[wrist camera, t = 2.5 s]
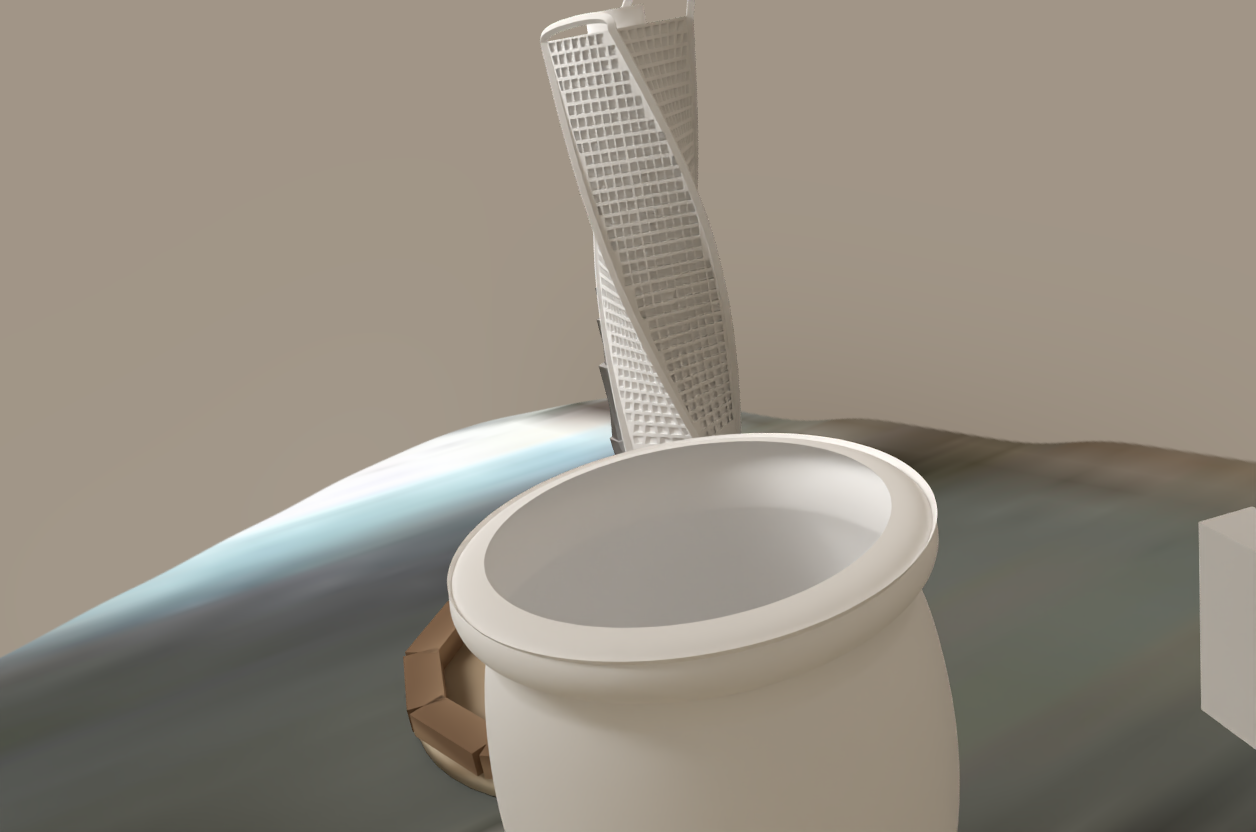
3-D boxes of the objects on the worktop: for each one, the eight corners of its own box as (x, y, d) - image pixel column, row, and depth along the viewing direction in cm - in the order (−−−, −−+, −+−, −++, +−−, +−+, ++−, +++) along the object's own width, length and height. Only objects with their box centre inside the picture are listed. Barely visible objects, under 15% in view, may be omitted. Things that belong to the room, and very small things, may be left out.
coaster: (427, 862, 36) (413, 814, 36) (408, 626, 52) (398, 590, 52) (890, 722, 39) (885, 675, 39) (739, 538, 55) (733, 503, 54)
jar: (813, 835, 35) (751, 398, 30) (1079, 1072, 26) (1053, 506, 21) (512, 1005, 30) (382, 529, 26) (706, 1360, 22) (564, 735, 17)
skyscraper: (763, 472, 63) (691, -38, 54) (780, 533, 56) (699, -49, 46) (621, 494, 64) (526, -7, 55) (618, 557, 56) (507, -13, 47)
